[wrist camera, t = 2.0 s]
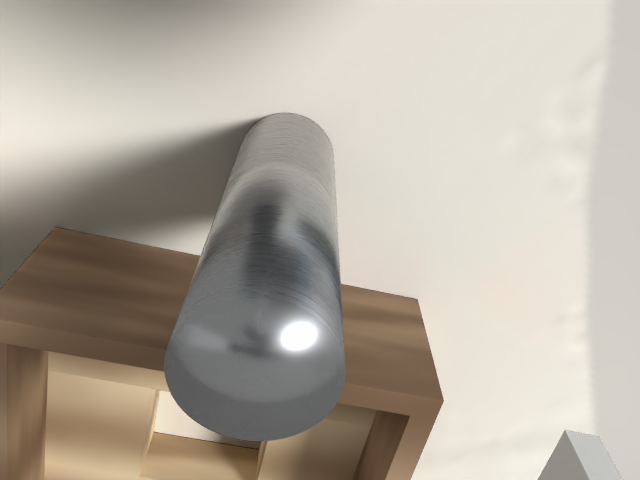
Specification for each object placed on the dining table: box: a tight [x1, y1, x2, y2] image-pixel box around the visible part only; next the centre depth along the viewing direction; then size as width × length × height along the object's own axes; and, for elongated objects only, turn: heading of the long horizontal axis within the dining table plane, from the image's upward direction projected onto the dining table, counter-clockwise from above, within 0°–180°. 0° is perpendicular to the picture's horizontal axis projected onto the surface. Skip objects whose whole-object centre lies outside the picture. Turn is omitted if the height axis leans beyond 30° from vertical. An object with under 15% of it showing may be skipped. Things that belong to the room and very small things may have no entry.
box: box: [0, 227, 444, 480], centre depth 29 cm, size 17×17×7 cm
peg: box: [164, 113, 345, 441], centre depth 20 cm, size 4×4×14 cm
